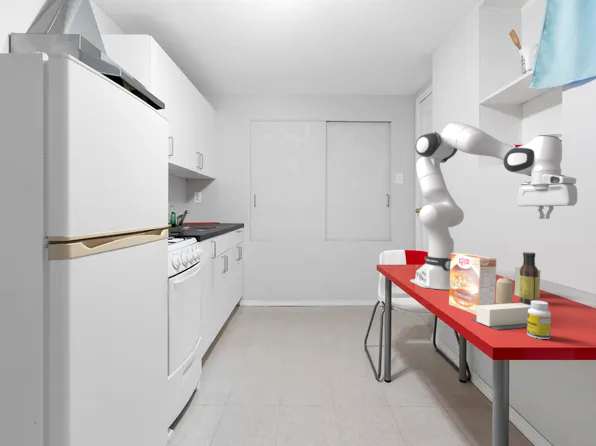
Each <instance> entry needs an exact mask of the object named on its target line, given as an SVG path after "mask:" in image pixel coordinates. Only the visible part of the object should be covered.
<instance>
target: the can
mask: <svg viewBox="0 0 596 446" xmlns="http://www.w3.org/2000/svg"><path fill="white" fill-rule="evenodd" d="M520 268H521V267H515V271H514V272H515V274H514V279H515V280H514V292H513V296H516V297H519V285H520ZM537 269H538V277H539V281H538V299H539V298H541V297H540V290H541V289H540V285H541V284H540V283H541V269H539V268H537Z"/></svg>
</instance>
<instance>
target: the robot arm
mask: <svg viewBox="0 0 596 446" xmlns="http://www.w3.org/2000/svg"><path fill="white" fill-rule="evenodd" d="M414 146H415V147H414V149H415V152H416V154H418V155H419V156H421V157H420V158H418V160H417V161H416V164H415V169H416V175H417V176H416V177H417V180H418V184H419V187H420V190H421V194H422V196H423V198H424V199H425V200H427V201H428V203H429V204H426V205H423V207H422V208H421V209H420V210H419V214H418V217H419V218H418V219H419V220H420V222H421V224H423V226H424V228H425V231H426V235H427V241H428V243H427V245H428V247H427V249H428V250H427V256H424V259H425V261H424V262H425V263H424V264H423V265H422V266H420V267H419V268H418V269H416V271H415V278H411V279H410V281H409V282H410V283H413V284H414V285H417V286H419V287H421V288H424V289H426V288H428V289H432V290H433V289H436V290H449V291H450V263H451V253H455V252H454V251H455V250H454V249H455V240H454V239H453V238H452V236H451V233H450V231H449V228H453V227H456V226H459V225H460V224H461V223H462V222H463V221H464V217H465V214H464V213H465V212H464V211H463V209H462V208H461V207H459V205H458V204H457V203H456V202H455V200H454V198H453V197H452V195H451V193H450V191H449V190H448V188H447V185H446V182H445V178H444V175H443V172H442V170H441V163H443V164H444V163H446V162H447V161H448V160H449V159H451V158H453V157H454V156H455V155H456V154H457V152H458V151H460V152H463V153H466V154H470V155H474V156H475V155H476V156H484V157H491V158H496V159H500V160H502V161H503V166H504V168H505V170H507V171H508V172H510V173H513V174H519V175H526V176H528V177H530V181H527V182H526V181H524V182H523V183H521V184H520V185H519V187H518V189H519V190H518V193H517V198H516V204H517V206H518V207H535V210H536V212H537V214H538V219H540V220H549V219H550V218H551V217H550V216H551V214H552V212H553V211H554V207H565V206H566V207H570V206H571V207H573V206H575V205H577V203H578V187H577V186H576V185H575V184H576V183H577V178H576V177H572V176H568V175H564V174H562V168H561V163H562V160H563V147H562V146H563V145H562V141H561V139H560V138H559V137H558V136H555V135H549V134H541V135H537V136H535V137H533V139H531V140H530V141H528V142H526V143H525V144H523V145H520V146H517V147H516V146H513V145H509V144H507V143H504V142H503V141H501V140H499V139H497V138H495V137H493V136H492V135H490V134H488V133H487V132H485V131H483V130H482V129H479V128H477V127H475V126H472V125H470V124H467V123H461V122H450V123H448V124H447V125H446V126H445V127H444V129H443V130H442V132H440V133H438V132H437V131H435V132H430V133H426V134H425V133H424V134H423V135H421V136H419V137H418V138H417V140H416V142H415V145H414ZM544 207H545V208H544ZM544 209H545V211H543V210H544Z"/></svg>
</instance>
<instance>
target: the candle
mask: <svg viewBox="0 0 596 446" xmlns="http://www.w3.org/2000/svg"><path fill="white" fill-rule="evenodd" d="M513 291H514V282H513V280H510V279H509V278H507V277H500V278H498V279H496V284H495V304H509V303H513V296H514V292H513Z"/></svg>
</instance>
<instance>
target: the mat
mask: <svg viewBox="0 0 596 446" xmlns="http://www.w3.org/2000/svg"><path fill="white" fill-rule="evenodd" d="M471 321H473V322H476V323H478V324H480V325H483V326H485V327H488V328H491V329H494V330H497V331H503V330H504V331H505V330H514V329H525V328H526V329H527V323H523V324H511V325H499V326H487V325H485V324H482V323H479V322H477V318H471Z"/></svg>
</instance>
